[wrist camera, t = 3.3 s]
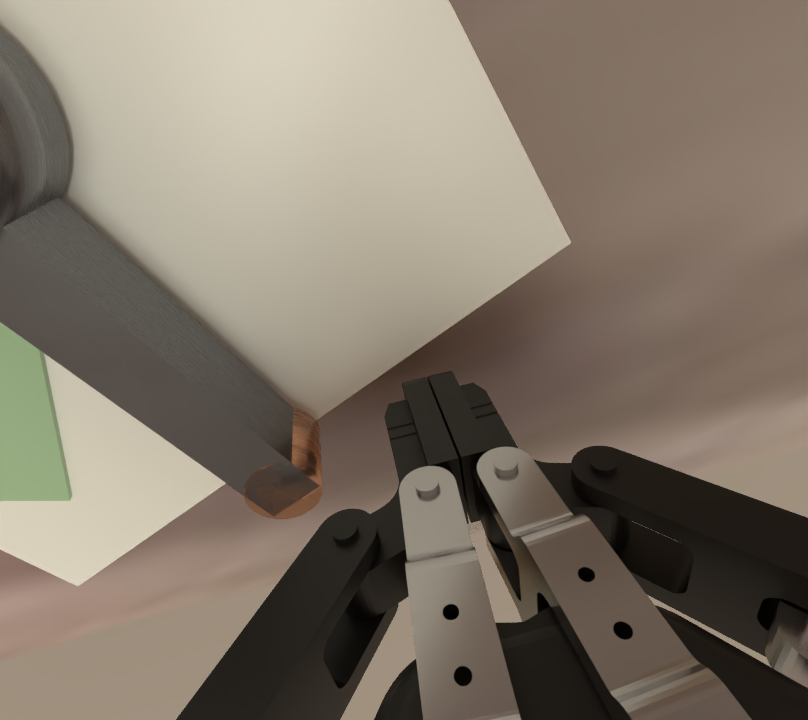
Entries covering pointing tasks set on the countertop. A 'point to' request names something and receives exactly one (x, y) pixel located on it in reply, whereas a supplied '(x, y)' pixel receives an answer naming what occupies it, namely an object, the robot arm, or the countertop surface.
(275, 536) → the countertop surface
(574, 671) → the robot arm
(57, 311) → the metal serving spoon
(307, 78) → the dial plate
